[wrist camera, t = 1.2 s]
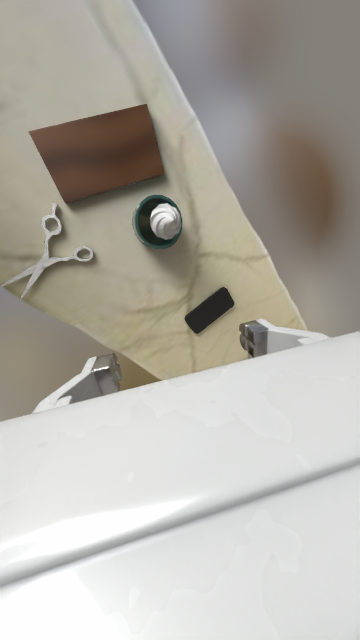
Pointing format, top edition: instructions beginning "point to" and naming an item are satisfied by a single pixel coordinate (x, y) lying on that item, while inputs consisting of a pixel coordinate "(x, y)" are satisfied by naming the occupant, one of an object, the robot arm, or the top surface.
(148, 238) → the cup
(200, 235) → the top surface
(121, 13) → the top surface
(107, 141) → the board
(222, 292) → the phone
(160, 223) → the ice cream cone
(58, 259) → the scissors
